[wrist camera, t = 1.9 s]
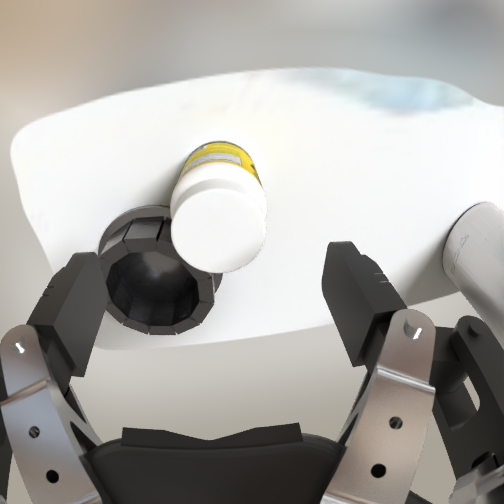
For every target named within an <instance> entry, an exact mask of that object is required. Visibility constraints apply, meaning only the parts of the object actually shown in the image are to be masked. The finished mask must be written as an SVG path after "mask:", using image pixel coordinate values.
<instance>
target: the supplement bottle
mask: <svg viewBox="0 0 504 504" xmlns="http://www.w3.org/2000/svg"><path fill="white" fill-rule="evenodd" d="M170 212H171V218H172V222H171V238H172V242H173V245H174V247H175V249H176V251H177V252H178V254H179V255H180V256H181V257H182V258H183V259H184V260H185V261H186V262H187V263H188V264H190V265H191V266H193V267H195V268H197V269H199V270H202V271H206V272H211V273H227V272H232V271H235V270H238V269H240V268H242V267H244V266H246V265H247V264H248V263H250V262H251V261H252V260H253V259H254V258H255V257H256V256H257V255H258V253H259V252H260V250H261V248H262V246H263V244H264V240H265V235H266V226H265V219H266V214H267V203H266V197H265V194H264V190H263V188H262V185H261V182H260V180H259V177H258V174H257V171H256V169H255V166H254V163H253V161H252V159H251V157H250V156H249V154H248V153H247V152H246V151H245V150H244V149H243V148H241V147H240V146H238V145H236V144H234V143H232V142H228V141H212V142H208V143H205V144H203V145H201V146H200V147H198V148H197V149H196V150H194V151H193V152H192V153H191V155H190V156H189V158H188V159H187V161H186V163H185V165H184V167H183V170H182V172H181V174H180V177H179V179H178V182H177V184H176V186H175V188H174V191H173V194H172V198H171V204H170Z"/></svg>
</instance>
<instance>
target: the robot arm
mask: <svg viewBox="0 0 504 504" xmlns="http://www.w3.org/2000/svg"><path fill="white" fill-rule="evenodd" d="M442 262H443V268H444V271H445V273H446V274H447V275H448V277H449V278H450V279H451V280H452V281H453V283H454V284H455V285H456V286H457V288H458V289H459V290H460V291H461V292H462V294H463V295H464V296H465V297H466V299H467V300H468V301H469V303H470V304H471V305H472V306H473V308H474V309H475V310H476V312H477V313H478V314H479V315H480V317H481V318H482V320H483V321H484V322H483V321H482V320H481V319H479V318H477V317H474V316H463V317H461V318H460V319H459V321H458V322H457V324H456V326H455V328H447V327H436V326H434V324H433V322H432V321H431V319H430V318H429V317H427V316H426V315H425V314H423V313H421V312H419V311H417V310H413V309H408V308H407V307H406V305H405V304H404V302H403V301H402V299H401V298H400V296H399V295H398V293H397V292H396V290H395V289H394V287H393V286H392V284H391V283H390V282H389V280H388V279H387V277H386V276H385V274H383V271H382V270H381V269H380V267H379V266H378V264H377V263H376V262H375V261H373V260H372V259H370V258H369V257H368V256H366V255H361V254H360V252H359V251H358V250H357V248H356V247H355V245H354V244H353V243H352V242H351V241H345V242H330V243H329V245H328V248H327V253H326V259H325V265H324V270H323V276H322V292H323V296H324V298H325V300H326V303H327V305H328V307H329V310H330V312H331V314H332V317H333V319H334V322H335V324H336V326H337V329H338V331H339V333H340V336H341V339H342V341H343V343H344V346H345V348H346V351H347V353H348V356H349V358H350V361H351V363H352V366H353V367H356V366H362V365H365V366H366V368H367V370H368V371H367V373H366V375H365V377H364V380H363V382H362V385H361V388H360V390H359V392H358V395H357V397H356V399H355V402H354V404H353V406H352V409H351V411H350V414H349V416H348V418H347V420H346V422H345V424H344V426H343V428H342V429H341V431H340V433H339V435H338V437H337V439H336V441H333V440H330V439H328V438H325V437H321V436H318V435H312V434H307V433H301V429H300V425H299V423H293V424H285V425H278V426H269V427H258V428H253V429H250V430H246V431H243V432H240V433H236V434H233V435H230V436H226V437H222V438H219V439H215V440H203V439H197V438H194V437H189V436H185V435H181V434H177V433H173V432H169V431H165V430H153V429H137V428H125V427H123V431H122V438H119V439H115V440H112V441H109V442H106V443H103V442H102V441H101V440H100V438H99V437H98V436H97V434H96V433H95V431H94V430H93V428H92V427H91V425H90V423H89V421H88V419H87V417H86V415H85V413H84V411H83V409H82V407H81V405H80V403H79V401H78V399H77V397H76V394H75V392H74V390H73V388H72V386H71V385H70V383H69V382H70V379H71V376H76V377H84V375H85V372H86V368H87V364H88V361H89V358H90V355H91V351H92V348H93V345H94V342H95V339H96V336H97V333H98V330H99V327H100V324H101V321H102V318H103V315H104V312H105V309H106V307H107V303H108V289H107V285H106V282H105V279H104V276H103V273H102V270H101V266H100V263H99V260H98V256H97V255H96V253H95V252H81V253H74V254H73V256H72V257H71V259H70V260H69V262H68V264H67V265H66V267H63V268H62V269H61V270H60V271H59V272H57V273H56V274H55V275H54V276H53V277H52V279H51V281H50V282H49V284H48V286H47V288H46V289H45V291H44V293H43V296H42V297H41V298H40V299H39V302H38V303H37V305H36V307H35V308H34V310H33V312H32V314H31V316H30V318H29V320H28V321H27V323H26V325H19V326H16V327H14V328H12V329H11V330H9V331H8V332H7V333H6V334H5V336H4V337H3V338H2V340H1V343H0V504H7V503H6V499H7V488H8V480H9V472H10V464H11V458H12V453H13V454H14V457H15V460H16V463H17V465H18V468H19V471H20V474H21V476H22V479H23V481H24V484H25V486H26V489H27V491H28V493H29V496H30V498H31V500H32V502H33V504H432V503H431V502H429V501H427V500H425V499H423V498H422V497H420V496H419V495H417V494H415V493H414V492H412V491H410V487H411V485H412V481H413V479H414V475H415V473H416V469H417V466H418V463H419V460H420V456H421V452H422V449H423V446H424V442H425V438H426V434H427V430H428V426H429V421H430V417H431V412H433V415H434V417H435V420H436V423H437V425H438V428H439V430H440V433H441V436H442V439H443V442H444V444H445V447H446V450H447V453H448V456H449V459H450V462H451V465H452V468H453V471H454V474H455V477H456V481H457V482H456V484H455V486H454V489H453V493H452V494H451V495H450V497H449V504H504V211H502V210H501V209H500V208H498V207H497V206H496V205H494V204H492V203H487V202H485V203H480V204H478V205H476V206H474V207H472V208H471V209H469V210H468V211H467V212H466V213H465V214H464V215H463V216H462V217H461V218H460V219H459V220H458V222H457V223H456V224H455V226H454V227H453V229H452V231H451V233H450V235H449V237H448V239H447V242H446V244H445V248H444V252H443V260H442ZM502 347H503V348H502ZM468 376H469V378H470V380H471V382H472V384H473V386H474V388H475V390H476V392H477V394H478V396H479V399H480V406H479V410H478V411H477V410H476V408H475V406H474V404H473V401H472V400H471V397H470V395H469V393H468V391H467V389H466V387H465V385H464V383H463V382H464V381H465V379H466V378H467V377H468Z"/></svg>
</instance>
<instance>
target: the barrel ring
mask: <svg viewBox="0 0 504 504" xmlns="http://www.w3.org/2000/svg"><path fill="white" fill-rule="evenodd" d="M171 222H172V218H171V212H170V207H167V206H159V205H149V206H141V207H137V208H134V209H131V210H129V211H127V212H124V213H123V214H121V215H120V216H118V217H117V218H116V219H115V220H114V221H113V222H112V223H111V224H110V225H109V226H108V228H107V229H106V231H105V232H104V234H103V236H102V239H101V241H100V245H99V251H98V260H99V263H100V266H101V270H102V273H103V276H104V279H105V282H106V285H107V289H108V303H107V307H106V310H107V311H108V312H109V313H110V314H111V315H112V316H113V317H114V318H115V319H116V320H117V321H118V322H119V323H123V322H124V323H123V325H124V326H127V327H129V328H132V329H134V330H137V331H140V332H142V333H145V334H148V332H149V334H150V335H176V333H177V334H180V333H182V332H185V331H187V330H189V329H191V328H194V327H196V326H198V325H200V323H202V322H203V320H204V319H205V317H206V316H207V314H208V313H209V311H210V310H211V308H212V307H213V305H214V294H215V292H216V291H217V289H218V287H219V285H220V283H221V280H222V275H223V273H211V272H206V271H202V270H199V269H197V268H195V267H193V266H191V265H190V264H188V263H187V262H186V261H185V260H184V259H183V258H182V257H181V256H180V255H179V254H178V252H177V251H176V249H175V247H174V245H173V242H172V238H171Z"/></svg>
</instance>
